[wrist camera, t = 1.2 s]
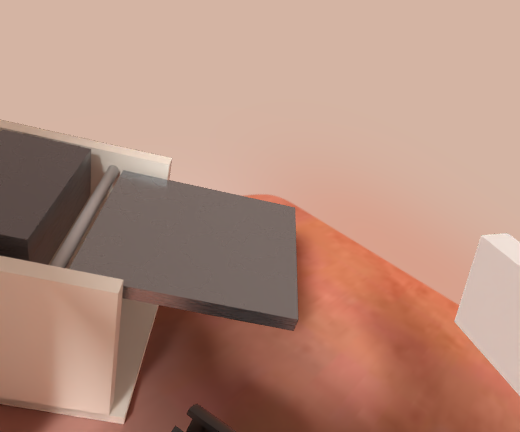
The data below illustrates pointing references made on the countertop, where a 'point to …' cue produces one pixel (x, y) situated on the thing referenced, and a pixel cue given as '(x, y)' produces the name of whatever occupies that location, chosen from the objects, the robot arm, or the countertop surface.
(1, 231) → the trapdoor
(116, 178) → the frame
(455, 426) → the countertop surface
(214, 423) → the phone stand
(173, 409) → the countertop surface
